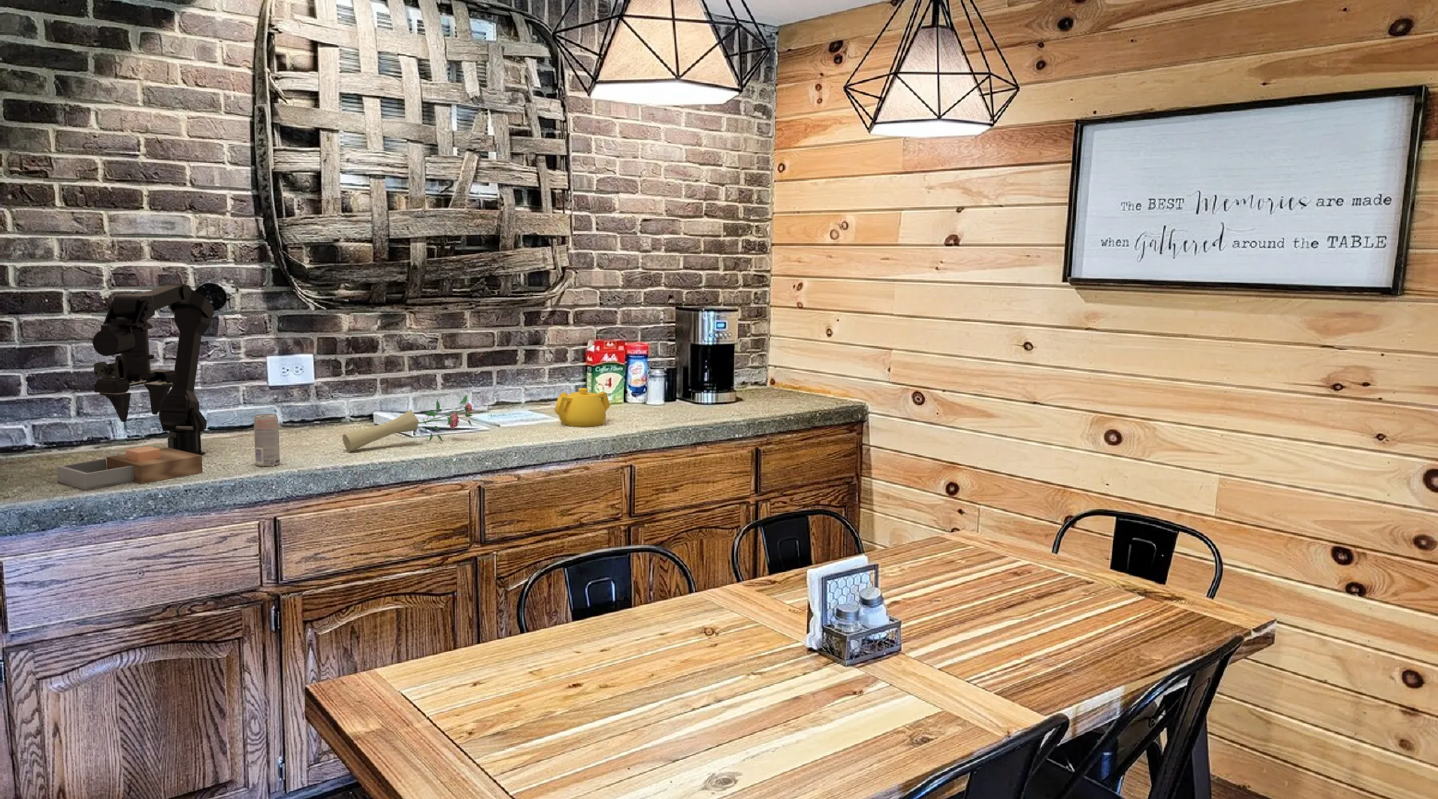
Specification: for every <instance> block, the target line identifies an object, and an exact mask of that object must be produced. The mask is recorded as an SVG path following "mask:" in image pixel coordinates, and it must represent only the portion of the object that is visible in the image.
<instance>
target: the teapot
mask: <svg viewBox="0 0 1438 799" xmlns="http://www.w3.org/2000/svg"><path fill="white" fill-rule="evenodd" d="M588 390H589V389H588V388H586V387H580V388H578V391H576V392H575V391H574V392H570V393H569V394H568V393H567V392H561V393H560V394H559V396H558V397H557V400H556V405H555V407H554V413H555V414H556V415H558V418H559V420H560V422H561V423H562V424H563V425H564V426H569V427H575V428H576V427H577V428H589V427H598V426H599V427H600V426H601V425H602V424H603V423H604V422H605V421H606V420H607V414H606V413H607V412H606V411H607V410H608V409H609V408H610V407H611V405H610V401H609V397H608V395H607V394H608V393H607V392H606V391H600V392H597V393H595V392H588Z"/></svg>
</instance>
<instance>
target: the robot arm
mask: <svg viewBox="0 0 1438 799" xmlns="http://www.w3.org/2000/svg"><path fill="white" fill-rule="evenodd" d="M165 307H167V308H168V309H169V311H170V312H171V313H172V314H173V322H174V324H175V325H176V327H177V329H178V333H179V334H178V339H177V340H178V342H177V349H176V355H175V362H174V367H173V368H174V369H164V368H162V369H161V368H156V369H151V360H155V354H151V353H150V342H149V339H150V338H149V330H151V329H153V328H154V326H153V325H152V324H151V323H149V322H148V320H149V319H151V318H153V317H154V316H155V315H156V311H157V310H159V309H160V310H161V309H162V308H165ZM214 314H215V308H214V306H213V303H211V302H210V301H209V299H207V297H206V296H204V295H202V294H201V293H200V292H197V291H196V290H194V289H193V288H192V287H191V286H190V285H189V284H187V283H176V282H175V283H173V282H172V283H171V282H169V283H166V284H165V285H163V286H160V287H158V288H155V289H152V290H149V291H145V292H142V293H138V294H135V293H134V294H129V293H128V294H127V293H126V294H117V295H115V296H114V297H113V298H112V301H111V303H110V306H109V308H108V310H107V313H106V316H105V319H104V321H103V324H101V325H100V330H99V331H97V332H96V333H95V335H94V336H93V339H92V347H93V348H94V350H95V351H96V353H98V354H99V355H101V356H103V357H111V356H115V358H114V360H115V362H111V363H107V362H106V361H98V362H95V363H93V372H94V376H95V377H96V378H99V379H96V380H95V381H94V382H93V388H94V389H93V390H94V393H98V394H99V395H100V396H104V397H105V398H107V399H108V400H109V401H110V403H111V404H112V406H113V408H114V411H115V413H116V414H117V416H118V418H119V420H120V422H121V423H126V422H127V419H128V416H129V410H130V401H131V396H132V392H128V391H129V390H130V389H131V387H134V386H140V385H143V386H144V387H145V389H146V390H147V391H148V394H149V403H150V404H149V405H150V411H151V414H152V415H155V416H156V415H158V419H159V422H160V425H161V426H160V427H161V429H162V431H163V432H168V437H167V447H168V448H172V449H176V450H180V451H185V452H189V453H193V454H198V455H205V454H206V451H203V450H202V440H201V438H202V436H201V432H205V430H206V429H207V426H208V425H207V424H208V421H207V419H206V418H205V416H204V414H203V413H202V412H201V411H200V401H199V400H198V397H197V396H196V394H195V385H196V379H197V378H196V377H197V372H198V365H199V357H200V349H201V342H202V336H203V334H205V333H206V331H207V330H208V329H209V328H210V326H211V324H212V319H213V317H214Z"/></svg>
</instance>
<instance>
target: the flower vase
mask: <svg viewBox="0 0 1438 799" xmlns="http://www.w3.org/2000/svg"><path fill="white" fill-rule="evenodd" d="M467 396H468V395H467V394H465V396H463V398H462V397H461V396H459V398H460V399H461V401H460V402H459V405H460V406H459V409H460V410H458V411H456V412H455V411H453V412H451V413H449V414H446V415H445V414H444V415H441V416H439V417H436V416H437V413H438V411H440V408H441V404H440V401H439V400H438V399H436V404H435V406H436V407H435V408H436V409H435V411H433V410H429V411H427V412H426V413H425V416H427V419H426V420H425V419H424V418H423V419H422V420H423V421H421V422H420V421H419V419H418V418H417V416H416V414H415V413H414V411H413V410H412V408H410V409H409V410H408V411H406V412H405V413H403V414H402V415H400V416H398V417H396V418H394V419H392V420H390V421H388V422H384V423H382V424H377V425H374V426H371V427H368V428H363V429H359V430H356V431H351V432H347V433H344V434H343V435H342V442H343V445H344V447H345V449H346V450H347V452H349V453H351V452H353V451H356V450H358V449H360V448H362V447H364V446H366V445H368V444H370V443H372V442H376V441H378V440H380V439H383V438H386V437H389V436H391V435H394V434H398V433H407V432H415V431H417V430H418V427H419V428H421V429H423V430H424V431H425V432H426V433H428V431H427V429H425V427H423V426H422V427H421V426H419V424H425V425H426V426H427V427H428V428H429V429H430V430H432V427H431V426H429V425H428V424H427V423H433V422H441V421H442V422H443V421H444V422H445V421H447V424H446V426H448V425H449V427H450V430H455V428H457V427H458V426H459V423H460V421H459V419H461V420H463V421H465V422H467V423H468V424H469V425H470V427H473V426H472V422H471V420H470V419H468V420H466V419H463V417H460V416H459V414H457V413H460V412H463V411H465V415H464V418H470V417H473V414H472V412H473V406H472V404H471V403H469V402H467V399H468V397H467ZM463 404H465V406H464V407H463V408H464V409H462V408H461V407H462V406H463ZM430 417H433V418H431V419H429V418H430ZM444 417H446V418H447V419H441V418H444ZM433 429H434V430H435V431H436V432H437V431H439V430H440V429H439V427H438V426H437V425H434V427H433ZM432 432H433V433H432ZM432 432H430V436H429V439H428V442H430V441H431V440H432V439H433V437H434V436H433V434H435V433H434V431H432ZM435 436H436V437H437V438H438V439H439V440H440V442H442V444H444V442H443V438H442V436H441V435H440V434H435Z"/></svg>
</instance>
